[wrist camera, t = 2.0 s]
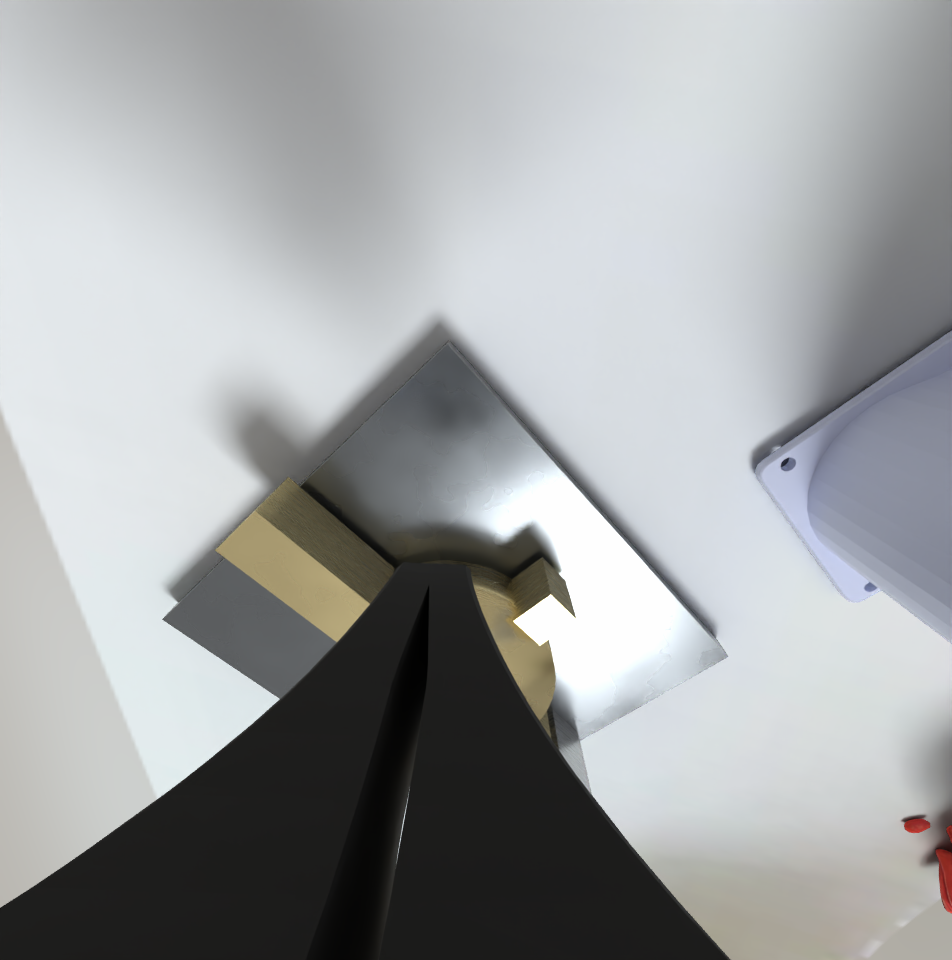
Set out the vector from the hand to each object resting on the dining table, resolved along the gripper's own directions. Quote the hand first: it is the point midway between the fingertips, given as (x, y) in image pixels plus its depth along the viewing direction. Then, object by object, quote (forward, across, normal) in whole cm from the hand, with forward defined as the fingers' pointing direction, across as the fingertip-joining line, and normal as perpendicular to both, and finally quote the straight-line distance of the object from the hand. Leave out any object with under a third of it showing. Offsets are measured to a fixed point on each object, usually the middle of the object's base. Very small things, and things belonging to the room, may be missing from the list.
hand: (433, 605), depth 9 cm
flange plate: (+8, 0, +8) cm, 11 cm away
